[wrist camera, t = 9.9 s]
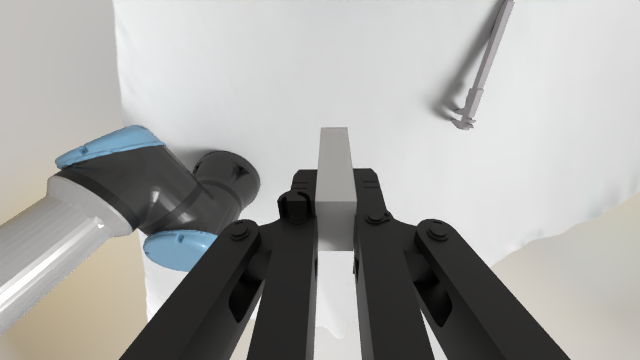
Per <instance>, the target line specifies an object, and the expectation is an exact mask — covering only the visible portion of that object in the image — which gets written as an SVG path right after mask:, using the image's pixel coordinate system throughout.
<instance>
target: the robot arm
mask: <svg viewBox="0 0 640 360" xmlns="http://www.w3.org/2000/svg"><path fill="white" fill-rule="evenodd" d="M55 163H56V165H57V168H59V169H61V171H60V172H58V173H57V174H55V175H53V176H51V177H50V178H48V181H47V194H46V196H45V197H44V198H43V199H41V200H39V201H38V202H36V203H35V204H33V205H32V206H30V207H28V208H27V209H26V210H24V211H22V212H21V213H19V214H18V215H16V216H15V217H13V218H12V219H10V220H8V221H7V222H6V223H4V224H2V225H1V226H0V336H1V335H2V334H3V333H4V332H5V331H7V330H8V329H9V328H10V327H11V326H12V325H13V324H14V323H16V322H17V321H18V320H19V319H20V318H21V317H22V316H23V315H24V314H26V313H27V312H28V311H29V310H30V309H31V308H32V307H33V306H34V305H36V304H37V303H38V302H39V301H40V300H41V299H42V298H43V297H44V296H45V295H47V294H48V293H49V292H50V291H51V290H52V289H53V288H55V286H57V285H58V284H59V283H60V282H61V281H62V280H63V279H65V277H67V276H68V275H69V274H70V273H71V272H72V271H73V270H74V269H76V268H77V267H78V266H79V265H80V264H81V263H82V262H83V261H85V260H86V259H87V258H88V257H89V256H90V255H91V254H92V253H93V252H95V250H97V249H98V248H99V247H100V246H101V245H102V244H103V243H104V242H106V241H107V240H108V239H110V238H113V237H121V236H128V235H130V234H131V233H132V232H133V231H134V230H135V229H136V228H138V229H140V230H141V231H142V232H143V233H144V234H146V235H147V236H148V237H147V238H146V239H145V242H144V245H143V249H144V251H145V254H146V256H147V257H148V258H149V259H150V260H152V261H153V262H155V263H157V264H159V265H161V266H163V267H166V268H169V269H172V270H177V271H185V272H189V273H188V274H187V275H186V277H185V278H184V279H183V280H182V282H181V283H180V284H179V285H178V287H177V288H176V289H175V290H174V292H173V293H172V294H171V295H170V297H169V298H168V299H167V300H166V302H165V303H164V304H163V305H162V306H161V308H160V309H159V310H158V311H157V313H156V314H155V315H154V316H153V318H152V319H151V320H150V321H149V323H148V324H147V325H146V326H145V328H144V329H143V330H142V331H141V333H140V334H139V335H138V337H137V338H136V339H135V340H134V342H133V343H132V344H131V345H130V346H129V348H128V349H127V350H126V352H125V353H124V354H123V355H122V356H121V358H120V359H119V360H229V359H230V357H231V355H232V353H233V351H234V349H235V347H236V345H237V343H238V341H239V339H240V337H241V335H242V333H243V331H244V329H245V327H246V325H247V323H248V321H249V319H250V317H251V315H252V313H253V311H254V309H255V307H256V305H257V303H258V301H259V299H260V296H261V294H262V296H261V301H260V305H259V309H258V313H257V317H256V322H255V326H254V330H253V334H252V338H251V343H250V347H249V351H248V355H247V359H246V360H313V358H314V357H313V355H314V336H315V316H316V295H317V275H318V251H353V250H354V266H353V274H355V283H356V295H357V306H358V318H359V330H360V341H361V353H362V360H435V359H434V355H433V352H432V348H431V345H430V342H429V338H428V335H427V331H426V328H425V324H424V321H423V317H422V314H421V311H422V312H423V314H424V316H425V318H426V320H427V322H428V324H429V325H430V327H431V329H432V331H433V333H434V335H435V337H436V339H437V340H438V342H439V344H440V346H441V348H442V350H443V352H444V353H445V355H446V357H447V359H448V360H570V359H569V357H568V356H567V355H566V354H565V353H564V352H563V350H562V349H561V348H560V347H559V346H558V345H557V344H556V343H555V341H554V340H553V339H552V338H551V337H550V336H549V335H548V334H547V332H546V331H545V330H544V329H543V328H542V327H541V326H540V325H539V324H538V322H537V321H536V320H535V319H534V318H533V317H532V316H531V314H530V313H529V312H528V311H527V310H526V309H525V308H524V307H523V305H522V304H521V303H520V302H519V301H518V300H517V299H516V297H515V296H514V295H513V294H512V293H511V292H510V291H509V290H508V289H507V287H506V286H505V285H504V284H503V283H502V282H501V281H500V280H499V278H497V276H496V275H495V274H494V273H493V272H492V271H491V269H490V268H489V267H488V266H487V265H486V264H485V263H484V261H483V260H482V259H481V258H480V257H479V256H478V255H477V254H476V252H475V251H474V250H473V249H472V248H471V247H470V246H469V245H468V243H467V242H466V241H465V240H464V239H463V238H462V237H461V236H460V234H459V233H458V232H457V231H456V230H455V229H454V228H453V227H452V226H450V225H449V224H447V223H445V222H443V221H441V220H436V219H426V220H423V221H421V222H420V223H419V224H418V225H417V226H414V225H410V224H406V223H403V222H400V221H398V220H396V219H394V218H393V216H392V214H391V213H390V212H389V211H387V209H386V206H385V202H384V198H383V195H382V191H381V188H380V184H379V180H378V176H377V174H376V173H375V172H374V171H373V170H372V169H371V168H363V169H353V168H352V160H351V152H350V145H349V137H348V130H347V127H332V128H321V136H320V148H319V160H318V170H298V172H297V173H296V174H295V175H294V177H293V181H292V186H291V190H290V191H288V192H285V193H284V194H282V195H281V196H280V197H279V199H278V200H277V203H278V208H279V214H280V219H278V220H277V221H275V222H272V223H269V224H265V225H261V226H258V225H257V224H256V222H254V221H252V220H249V219H242V220H238V218H239V215H240V213H241V211H242V210H243V209H244V208H245V207H246V206H247V205H249V204H250V203H251V202H252V201H253V200H254V199H255V198H256V196H257V194H258V191H259V188H260V178H259V175H258V173H257V171H256V169H255V168H254V167H253V166H252V165H251V164H250V163H249V162H248V161H247V160H246V159H244V158H242V157H241V156H239V155H236V154H234V153H230V152H225V151H217V152H211V153H209V154H207V155H205V156H204V157H202V158H201V160H200V161H199V162H198V163H197V164H196V166H195V168H194V170H193V174H191V173H190V172H189V171H188V170H187V168H186V167H185V166H184V165H183V164H182V163H181V162H180V161H179V160H178V159H177V158H176V157H175V156H174V155H173V154H172V152H171V151H170V150H169V149H168V148H167V147H166V144H165V143H163V142H161V141H160V140H159V139H158V138H157V137H156V136H155V135H154V134H153V133H152V132H150V131H149V130H148V129H147V128H145V127H143V126H139V125H133V126H129V127H125V128H123V129H120V130H117V131H115V132H112V133H110V134H107V135H105V136H102V137H100V138H98V139H95V140H93V141H91V142H89V143H86V144H85V145H84V146H80V147H79V148H77V149H74V150H71V151H69V152H67V153H65V154H63V155H61V156H60V157H58V158H57V159H56V160H55ZM420 309H421V310H420Z"/></svg>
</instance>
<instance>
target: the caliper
mask: <svg viewBox="0 0 640 360" xmlns="http://www.w3.org/2000/svg"><path fill="white" fill-rule="evenodd" d="M514 3H515V2H513V0H505V2H504V3H503V5H502V7H501V9H500V11H499V14H498V16H497V19H496V22H495V25H494V28H493V31H492V34H491V36H490V39H489V42H488V45H487V48H486V51H485V54H484V56H483V59H482V62H481V65H480V68H479V71H478V73H477V76H476V79H475V82H474V85H473V88H470V89H469V93H468V96H467V98H466V105H465V107H464V108H462V109H459V110H456V112H455V113H457V114H460V115H463V116H462V119H461V121H459V120H453V119H452V123H453V124H454V125H455V126H456V127H457V128H459V129H463V130H469V128H474V127H473V125H472V124H470V123H474V122H476V120H472V117H474V116H475V113H476V110H477V107H478V105H479V102H480V99H481V96H482V94H483V91H484V90H483V87H484V84H485V81H486V79H487V76H488V73H489V71H490V68H491V65H492V62H493V60H494V57H495V54H496V52H497V49H498V46H499V44H500V41H501V38H502V35H503V33H504V30H505V27H506V25H507V22H508V19H509V16H510V14H511V11H512V8H513V5H514Z"/></svg>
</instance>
